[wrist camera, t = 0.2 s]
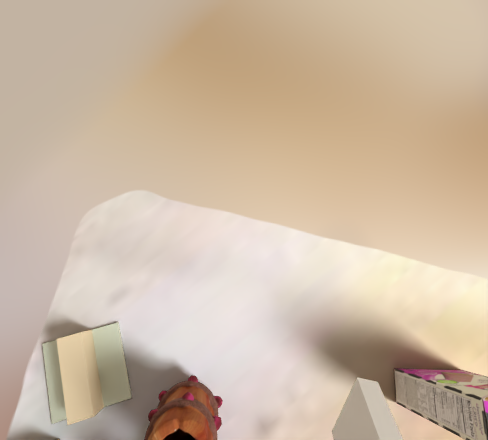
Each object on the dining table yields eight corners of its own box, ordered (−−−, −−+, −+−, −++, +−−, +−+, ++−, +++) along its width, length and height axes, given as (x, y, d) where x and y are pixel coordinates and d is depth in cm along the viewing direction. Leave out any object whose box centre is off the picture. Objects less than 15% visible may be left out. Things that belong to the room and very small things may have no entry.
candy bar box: (462, 367, 47) (588, 399, 31) (467, 404, 45) (602, 458, 30) (391, 365, 46) (483, 398, 30) (394, 403, 44) (492, 458, 29)
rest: (131, 397, 42) (123, 406, 38) (53, 422, 40) (36, 435, 36) (118, 322, 44) (109, 323, 40) (43, 343, 42) (26, 347, 38)
